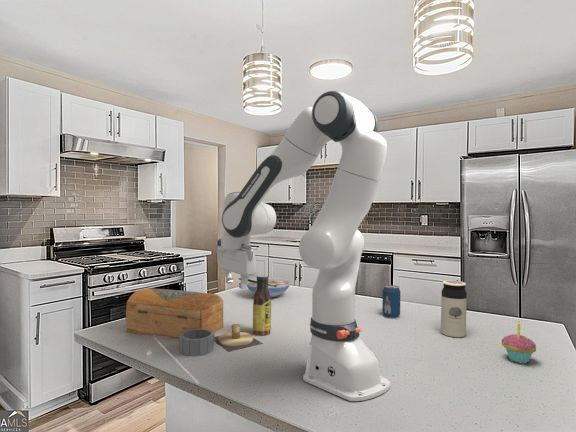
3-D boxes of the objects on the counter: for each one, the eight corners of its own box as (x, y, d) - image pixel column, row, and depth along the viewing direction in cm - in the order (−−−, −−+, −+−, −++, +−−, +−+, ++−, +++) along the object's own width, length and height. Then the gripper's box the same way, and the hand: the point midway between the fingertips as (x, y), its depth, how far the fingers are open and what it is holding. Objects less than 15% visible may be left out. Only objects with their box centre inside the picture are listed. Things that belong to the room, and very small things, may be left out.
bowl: (219, 352, 111) (219, 335, 111) (186, 359, 105) (186, 342, 105) (206, 342, 119) (206, 326, 119) (175, 348, 114) (175, 332, 113)
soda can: (399, 314, 153) (399, 285, 152) (401, 319, 146) (401, 288, 146) (381, 313, 154) (382, 284, 154) (382, 318, 147) (383, 287, 147)
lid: (259, 342, 119) (259, 326, 118) (227, 349, 112) (227, 333, 112) (242, 332, 128) (242, 318, 127) (212, 339, 121) (212, 323, 121)
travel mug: (442, 328, 135) (443, 279, 134) (466, 332, 131) (467, 281, 130) (439, 335, 128) (440, 283, 127) (464, 339, 124) (465, 285, 123)
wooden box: (225, 328, 134) (226, 289, 134) (200, 344, 118) (200, 300, 118) (156, 319, 144) (156, 283, 144) (125, 332, 128) (125, 292, 128)
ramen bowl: (302, 296, 181) (302, 280, 181) (268, 305, 164) (268, 287, 164) (267, 288, 198) (267, 273, 198) (233, 296, 181) (233, 279, 181)
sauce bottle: (268, 337, 124) (268, 278, 124) (250, 336, 125) (250, 277, 125) (273, 331, 130) (273, 274, 130) (255, 329, 132) (256, 273, 131)
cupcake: (536, 368, 102) (537, 325, 101) (500, 361, 106) (501, 320, 106) (535, 358, 109) (536, 317, 109) (501, 352, 113) (502, 312, 113)
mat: (263, 344, 118) (263, 343, 118) (228, 353, 111) (228, 351, 111) (242, 332, 129) (242, 331, 129) (209, 339, 122) (209, 337, 122)
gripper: (261, 245, 112) (260, 291, 113) (231, 239, 129) (230, 279, 130) (243, 246, 109) (242, 293, 109) (214, 240, 126) (213, 281, 126)
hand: (235, 285), depth 120 cm, fingers open, 8 cm apart
